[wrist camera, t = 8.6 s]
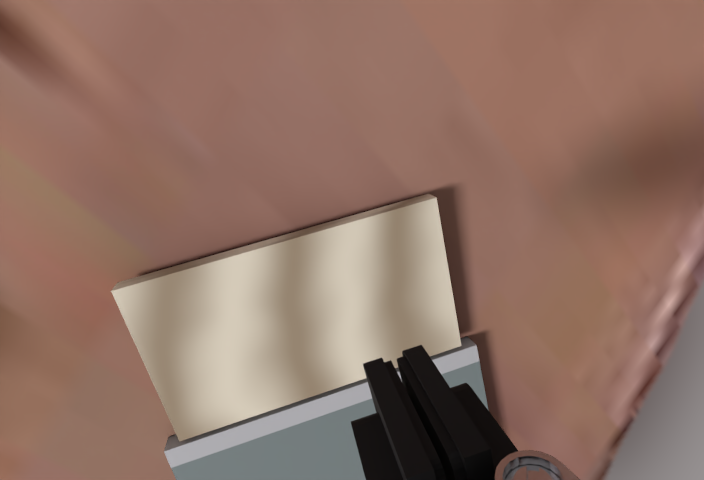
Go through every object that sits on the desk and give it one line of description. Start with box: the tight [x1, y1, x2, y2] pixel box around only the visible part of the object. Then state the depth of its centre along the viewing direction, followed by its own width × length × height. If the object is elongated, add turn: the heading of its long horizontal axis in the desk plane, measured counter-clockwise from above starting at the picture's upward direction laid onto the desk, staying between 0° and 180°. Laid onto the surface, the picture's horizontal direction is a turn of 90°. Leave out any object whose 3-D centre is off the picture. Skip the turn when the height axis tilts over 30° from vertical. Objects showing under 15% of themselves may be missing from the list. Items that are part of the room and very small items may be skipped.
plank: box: [111, 194, 461, 442], centre depth 26 cm, size 18×10×1 cm, turn 104°
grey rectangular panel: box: [164, 336, 489, 480], centre depth 29 cm, size 20×11×1 cm, turn 104°
